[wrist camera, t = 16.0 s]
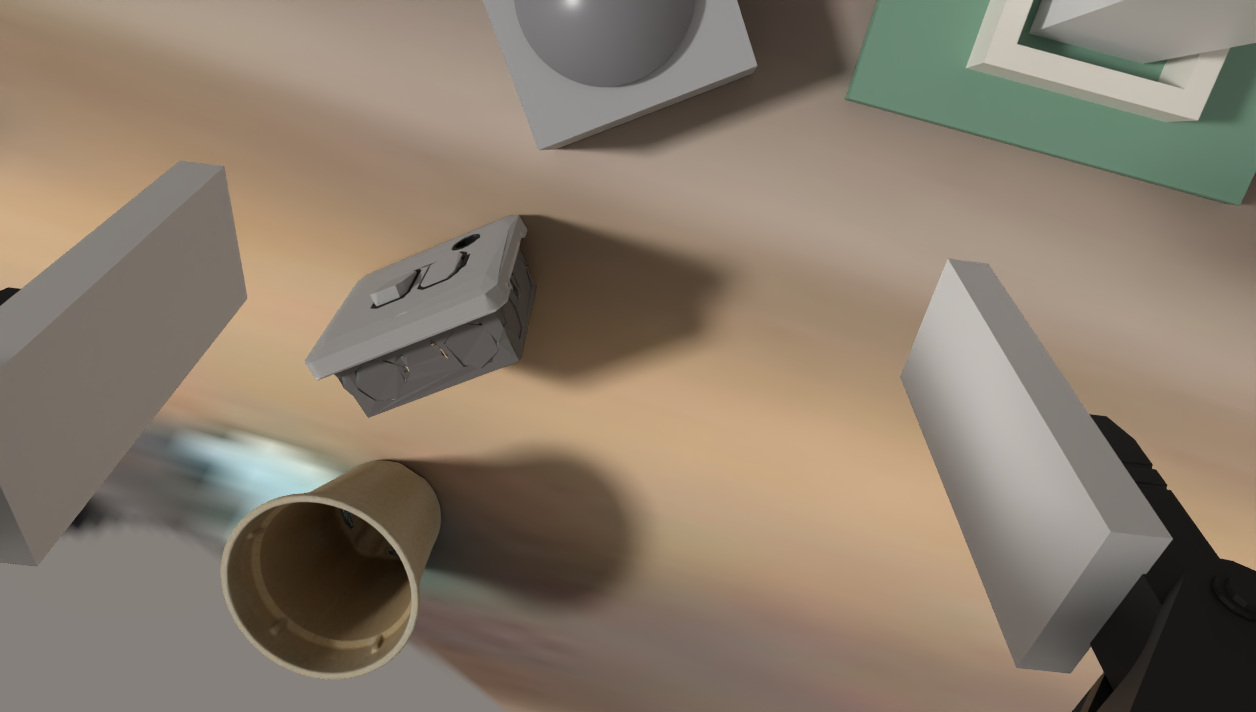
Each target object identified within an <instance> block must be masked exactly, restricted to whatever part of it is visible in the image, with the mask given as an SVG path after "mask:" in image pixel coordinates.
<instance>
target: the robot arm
mask: <svg viewBox="0 0 1256 712" xmlns="http://www.w3.org/2000/svg"><path fill="white" fill-rule="evenodd" d="M246 300H247V293H246V287H245V281H244V276H243V270H242V264H241V259H240V253H239V247H238V241H237V236H236V230H235V224H234V219H233V213H232V207H231V202H230V196H229V190H228V184H227V179H226V173H225V167H224V166H218V165H211V164H203V163H195V162H187V161H179V162H178V163H177V164H175V165H174V166H173V167H172V168H170V169H169V170H168V171H167V172H165V173H164V174H163V175H162V176H160V177H159V178H158V179H157V180H156V181H154V182H153V183H152V184H151V185H149V186H148V187H147V188H146V189H144V190H143V191H142V192H141V193H139V194H138V195H137V196H136V197H135V198H133V199H132V200H131V201H130V202H128V203H127V204H126V205H125V206H123V207H122V208H121V209H120V210H118V211H117V212H116V213H115V214H113V215H112V216H111V217H110V218H109V219H107V220H106V221H105V222H104V223H102V224H101V225H100V226H99V227H97V228H96V229H95V230H94V231H92V232H91V233H90V234H89V235H87V236H86V237H85V238H84V239H83V240H81V241H80V242H79V243H78V244H76V245H75V246H74V247H73V248H71V249H70V250H69V251H68V252H66V253H65V254H64V255H63V256H62V257H60V258H59V259H58V260H57V261H55V262H54V263H53V264H52V265H50V266H49V267H48V268H47V269H45V270H44V271H43V272H42V273H40V274H39V275H38V276H37V277H36V278H34V279H33V280H32V281H31V282H29V283H28V284H27V285H26V286H24V287H23V288H22V289H17V288H6V289H4V290H1V291H0V563H10V564H21V565H29V566H38V565H39V563H40V562H41V561H42V560H43V558H44V557H45V556H46V555H47V553H48V552H49V551H50V549H51V548H52V547H53V545H54V544H55V543H56V542H57V541H58V539H59V538H60V537H61V535H62V534H63V533H64V532H65V530H66V529H67V528H68V527H69V525H70V524H71V523H72V521H73V520H74V519H75V518H76V516H77V515H78V514H79V512H80V511H81V510H82V509H83V507H84V506H85V505H86V504H87V502H88V501H89V500H90V498H91V497H92V496H93V495H94V493H95V492H96V491H97V490H98V488H99V487H100V486H101V484H102V483H103V482H104V481H105V479H106V478H107V477H108V475H109V474H110V473H111V472H112V470H113V469H114V468H115V467H116V465H117V464H118V463H119V461H120V460H121V459H122V458H123V456H124V455H125V454H126V453H127V451H128V450H129V449H130V447H131V446H132V445H133V444H134V442H135V441H136V440H137V439H138V437H139V436H140V435H141V433H142V432H143V431H144V430H145V428H146V427H147V426H148V424H149V423H150V422H151V421H152V419H153V418H154V417H155V416H156V414H157V413H158V412H159V410H160V409H161V408H162V407H163V405H164V404H165V403H166V402H167V400H168V399H169V398H170V396H171V395H172V394H173V393H174V391H175V390H176V389H177V388H178V386H179V385H180V384H181V382H182V381H183V380H184V379H185V377H186V376H187V375H188V373H189V372H190V371H191V370H192V368H193V367H194V366H195V365H196V363H197V362H198V361H199V359H200V358H201V357H202V356H203V354H204V353H205V352H206V351H207V349H208V348H209V347H210V345H211V344H212V343H213V342H214V340H215V339H216V338H217V337H218V335H219V334H220V333H221V331H222V330H223V329H224V328H225V326H226V325H227V324H228V322H229V321H230V320H231V319H232V317H233V316H234V315H235V314H236V312H237V311H238V310H239V308H240V307H241V306H242V305H243V303H244V302H245V301H246ZM900 378H901V380H902V383H903V385H904V388H905V390H906V393H907V395H908V398H909V400H910V403H911V405H912V408H913V410H914V413H915V415H916V418H917V420H918V423H919V425H920V428H921V430H922V433H923V435H924V438H925V440H926V443H927V445H928V448H929V450H930V453H931V455H932V458H933V460H934V463H935V465H936V468H937V470H938V473H939V475H940V478H941V480H942V483H943V485H944V488H945V490H946V493H947V495H948V498H949V500H950V503H951V505H952V508H953V510H954V513H955V515H956V518H957V520H958V523H959V525H960V528H961V530H962V533H963V535H964V538H965V540H966V543H967V545H968V548H969V550H970V553H971V555H972V558H973V560H974V563H975V565H976V568H977V570H978V573H979V575H980V578H981V580H982V583H983V585H984V588H985V590H986V593H987V595H988V598H989V600H990V603H991V605H992V608H993V610H994V613H995V615H996V618H997V620H998V623H999V625H1000V628H1001V630H1002V633H1003V635H1004V638H1005V640H1006V643H1007V645H1008V648H1009V650H1010V653H1011V655H1012V658H1013V660H1014V663H1015V665H1016V668H1022V669H1032V670H1042V671H1051V672H1061V673H1071V672H1072V671H1073V669H1074V668H1075V667H1076V665H1077V664H1078V663H1079V661H1080V660H1081V659H1082V658H1083V656H1084V655H1085V654H1086V652H1087V651H1088V650H1089V648H1090V647H1092V649H1093V651H1094V653H1095V655H1096V657H1097V659H1098V661H1099V663H1100V665H1101V667H1102V669H1103V671H1104V673H1103V674H1102V675H1101V676H1100V677H1099V679H1098V680H1097V681H1096V682H1095V684H1094V685H1093V686H1092V687H1091V689H1090V690H1089V691H1088V692H1087V694H1086V695H1085V696H1084V697H1083V699H1082V700H1081V701H1080V702H1079V704H1078V705H1077V706H1076V707H1075V709H1074V710H1073V711H1072V712H1256V571H1255V570H1252V569H1250V568H1248V567H1245V566H1243V565H1241V564H1238V563H1236V562H1234V561H1230V560H1225V559H1220V558H1219V557H1218V556H1217V554H1216V553H1215V551H1214V550H1213V549H1212V547H1211V546H1210V544H1209V543H1208V542H1207V540H1206V539H1205V537H1204V536H1203V535H1202V533H1201V532H1200V530H1199V529H1198V528H1197V526H1196V525H1195V523H1194V522H1193V521H1192V519H1191V518H1190V516H1189V515H1188V514H1187V512H1186V511H1185V509H1184V508H1183V507H1182V505H1181V504H1180V502H1179V501H1178V500H1177V498H1176V497H1175V495H1174V494H1173V493H1172V491H1171V490H1167V484H1166V483H1165V481H1164V480H1163V479H1162V477H1161V476H1160V474H1159V473H1158V472H1157V470H1155V469H1152V463H1151V462H1150V460H1149V459H1148V458H1147V456H1146V455H1145V453H1144V452H1143V451H1142V449H1141V448H1140V446H1139V445H1138V444H1137V442H1136V441H1135V440H1134V439H1133V438H1132V437H1131V436H1130V435H1128V434H1127V433H1126V432H1125V431H1124V430H1122V429H1121V428H1120V427H1119V426H1118V425H1116V424H1115V423H1114V422H1113V421H1112V420H1110V419H1109V418H1108V417H1107V416H1099V415H1091V414H1089V413H1088V412H1087V410H1086V409H1085V407H1084V406H1083V404H1082V403H1081V401H1080V400H1079V398H1078V397H1077V395H1076V394H1075V392H1074V391H1073V389H1072V388H1071V386H1070V385H1069V383H1068V382H1067V380H1066V379H1065V377H1064V376H1063V374H1062V373H1061V371H1060V370H1059V368H1058V367H1057V365H1056V364H1055V362H1054V361H1053V360H1052V358H1051V357H1050V355H1049V354H1048V352H1047V351H1046V349H1045V348H1044V346H1043V345H1042V343H1041V342H1040V340H1039V339H1038V337H1037V336H1036V334H1035V333H1034V331H1033V330H1032V328H1031V327H1030V325H1029V324H1028V322H1027V321H1026V319H1025V318H1024V316H1023V315H1022V313H1021V312H1020V310H1019V309H1018V307H1017V306H1016V304H1015V303H1014V301H1013V300H1012V298H1011V297H1010V296H1009V294H1008V293H1007V291H1006V290H1005V288H1004V287H1003V285H1002V284H1001V282H1000V281H999V279H998V278H997V276H996V275H995V273H994V272H993V270H992V269H991V267H990V266H989V264H986V263H978V262H970V261H962V260H954V259H948V260H947V262H946V264H945V267H944V269H943V272H942V274H941V277H940V279H939V282H938V284H937V287H936V289H935V292H934V294H933V297H932V299H931V302H930V304H929V307H928V309H927V312H926V314H925V317H924V319H923V321H922V324H921V326H920V329H919V331H918V334H917V336H916V339H915V341H914V344H913V346H912V349H911V351H910V354H909V356H908V359H907V361H906V364H905V366H904V369H903V371H902V374H901V376H900Z"/></svg>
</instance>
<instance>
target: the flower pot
mask: <svg viewBox="0 0 1256 712" xmlns="http://www.w3.org/2000/svg"><path fill="white" fill-rule="evenodd" d="M343 509H344V510H346V511H349V512H350V517H351V520H352V523H353V527H352V528H350V526H349V524H348V523H347V522H346V519H345V517H344V514H343ZM440 526H441V511H440V505H439V502H438V499H437V497H436V495H435V493H434V491H433V489H432V488H431V486H430V485H429V483H428V482H427V481H426V480H425V479H424V478H422V477H420V476H419V475H417V474H416V473H414V472H412V471H411V470H409V469H408V468H407V467H405V466H404V465H402V464H400V463H397V462H392V461H382V460H379V461H370V462H366V463H363V464H360V465H358V466H356V467H354V468H352V469H351V470H349V471H348V472H346V473H345V474H343V475H341V476H339V477H337V478H335V479H334V480H332V481H330V482H328V483H326V484H324V485H322V486H321V487H319V488H317V489H315V490H313V491H311V492H309V493H303V494H292V495H287V496H282V497H279V498H276V499H273V500H271V501H268V502H266V503H265V504H262V505H261V506H259V507H257V508H256V509H254V510H252V511H251V512H250V513H249V514H248V515H246V516H245V517H244V518H243V519H242V520H241V521H240V522H239V524H238V525H237V526H236V527H235V528H234V530H233V532H232V533H231V535H230V537H229V539H228V541H227V543H226V545H225V548H224V552H223V557H222V562H221V580H222V590H223V593H224V597H225V600H226V604H227V606H228V608H229V611H230V613H231V615H232V617H233V619H234V620H235V622H236V624H237V626H238V627H239V629H240V630H241V631H242V633H243V634H244V636H246V638H247V639H248V640H249V642H250V643H251V644H252V645H253V646H255V647H256V648H257V649H258V650H259V651H260V652H261V653H263V654H264V655H265V656H266V657H267V658H269V659H271V660H273V662H276V663H277V664H279V665H281V666H282V667H284V668H287V669H289V670H292V671H294V672H296V673H298V674H300V675H305V676H309V677H315V678H318V679H320V678H321V679H346V678H352V677H356V676H360V675H363V674H367V673H369V672H372V671H374V670H376V669H378V668H380V667H382V666H383V665H385V664H386V663H388V662H389V661H390V660H392V659H393V658H394V657H395V656H396V655H397V654H398V653H399V652H400V651H401V650H402V649H403V647H404V646H405V645H406V643H407V642H408V640H409V639H410V637H411V635H412V633H413V630H414V628H415V625H416V622H417V618H418V614H419V607H420V590H419V585H420V579H421V576H422V574H423V571H424V569H425V566H426V563H427V561H428V558H429V556H430V553H431V551H432V548H433V546H434V544H435V542H436V539H437V537H438V534H439V531H440ZM389 550H395V551H396V552H397V554H398V555H397V556H396V555H393V554H390V553H389Z"/></svg>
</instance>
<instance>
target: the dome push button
mask: <svg viewBox="0 0 1256 712" xmlns="http://www.w3.org/2000/svg"><path fill="white" fill-rule="evenodd" d="M483 3H484V5H485V8H486V11H487V13H488V16H489V19H490V21H491V24H492V27H493V29H494V32H495V35H496V37H497V40H498V43H499V45H500V48H501V51H502V53H503V56H504V59H505V61H506V64H507V67H508V69H509V72H510V75H511V77H512V80H513V83H514V85H515V88H516V91H517V93H518V96H519V99H520V101H521V104H522V107H523V109H524V112H525V115H526V117H527V120H528V123H529V125H530V128H531V131H532V133H533V136H534V139H535V141H536V144H537V147H538V149H539V150H554V149H558V148H561V147H563V146H566V145H569V144H571V143H574V142H576V141H579V140H582V139H584V138H587V137H589V136H592V135H595V134H597V133H600V132H602V131H605V130H608V129H610V128H613V127H615V126H618V125H621V124H623V123H626V122H628V121H631V120H634V119H636V118H639V117H641V116H644V115H647V114H649V113H652V112H654V111H657V110H660V109H662V108H665V107H667V106H670V105H673V104H675V103H678V102H680V101H683V100H686V99H688V98H691V97H693V96H696V95H699V94H701V93H704V92H706V91H709V90H712V89H714V88H717V87H719V86H722V85H725V84H727V83H730V82H732V81H735V80H738V79H740V78H743V77H745V76H748V75H751V74H753V73H754V71H755V69H756V67H757V63H756V60H755V56H754V53H753V50H752V47H751V43H750V40H749V37H748V34H747V31H746V27H745V24H744V21H743V18H742V15H741V11H740V8H739V5H738V2H737V0H483Z"/></svg>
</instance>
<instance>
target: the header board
mask: <svg viewBox="0 0 1256 712" xmlns="http://www.w3.org/2000/svg"><path fill="white" fill-rule="evenodd" d="M1040 3H1041V0H877V3H876V6H875V9H874V12H873V15H872V18H871V21H870V24H869V27H868V30H867V33H866V36H865V40H864V43H863V46H862V49H861V52H860V55H859V58H858V61H857V64H856V67H855V70H854V73H853V77H852V80H851V83H850V86H849V89H848V92H847V95H846V98H845V100H848V101H852V102H856V103H859V104H863V105H867V106H870V107H874V108H878V109H881V110H885V111H889V112H892V113H896V114H900V115H903V116H907V117H911V118H914V119H918V120H922V121H925V122H929V123H933V124H936V125H940V126H944V127H947V128H951V129H955V130H958V131H962V132H966V133H969V134H973V135H977V136H980V137H984V138H988V139H991V140H995V141H998V142H1002V143H1006V144H1009V145H1013V146H1017V147H1020V148H1024V149H1028V150H1031V151H1035V152H1039V153H1042V154H1046V155H1050V156H1053V157H1057V158H1061V159H1064V160H1068V161H1072V162H1075V163H1079V164H1083V165H1086V166H1090V167H1094V168H1097V169H1101V170H1105V171H1108V172H1112V173H1116V174H1119V175H1123V176H1127V177H1130V178H1134V179H1137V180H1141V181H1145V182H1148V183H1152V184H1156V185H1159V186H1163V187H1167V188H1170V189H1174V190H1178V191H1181V192H1185V193H1189V194H1192V195H1196V196H1200V197H1203V198H1207V199H1211V200H1214V201H1218V202H1222V203H1225V204H1232V205H1240V204H1241V202H1242V200H1243V198H1244V196H1245V194H1246V191H1247V189H1248V187H1249V185H1250V183H1251V181H1252V179H1253V177H1254V174H1255V172H1256V43H1252V44H1247V45H1241V46H1236V47H1231V48H1225V49H1220V50H1215V51H1209V52H1204V53H1198V54H1193V55H1188V56H1182V57H1177V58H1171V59H1166V60H1161V61H1155V62H1150V63H1144V64H1141V63H1137V62H1133V61H1129V60H1126V59H1122V58H1118V57H1115V56H1111V55H1107V54H1103V53H1100V52H1096V51H1092V50H1089V49H1085V48H1081V47H1077V46H1074V45H1070V44H1066V43H1063V42H1059V41H1055V40H1051V39H1048V38H1044V37H1040V36H1036V35H1033V34H1029V32H1030V29H1031V27H1032V24H1033V21H1034V19H1035V16H1036V13H1037V11H1038V8H1039V5H1040Z"/></svg>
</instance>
